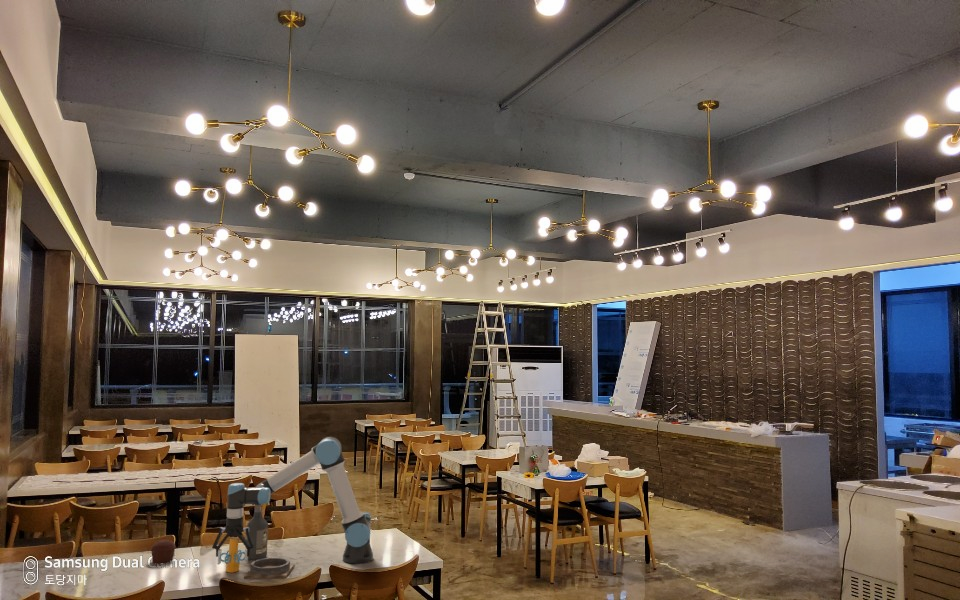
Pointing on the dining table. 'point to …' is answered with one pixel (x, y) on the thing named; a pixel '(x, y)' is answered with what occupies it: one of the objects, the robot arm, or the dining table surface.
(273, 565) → the holder
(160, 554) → the muffin
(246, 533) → the robot arm
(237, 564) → the orange post with loops
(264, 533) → the liquor
